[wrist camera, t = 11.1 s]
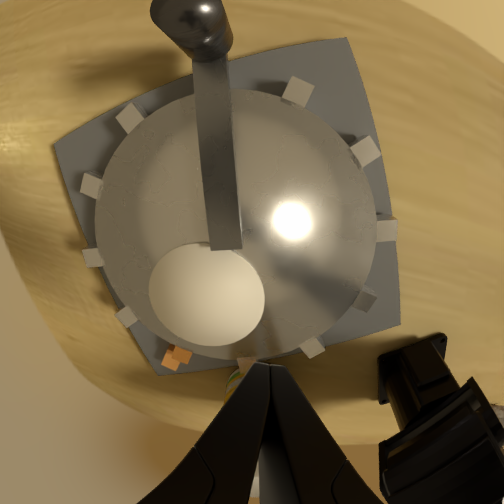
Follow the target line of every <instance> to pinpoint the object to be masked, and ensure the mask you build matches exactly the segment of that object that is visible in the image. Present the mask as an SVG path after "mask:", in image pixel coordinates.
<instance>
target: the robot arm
mask: <svg viewBox="0 0 504 504" xmlns="http://www.w3.org/2000/svg"><path fill="white" fill-rule="evenodd" d="M441 339H442V340H441ZM446 345H447V336H446V335H445V334H444V333H441V334H439V335H436V336H434V337H431V338H429V339H426V340H423V341H421V342H418V343H415V344H412V345H410V346H407V347H404V348H401V349H398V350H395V351H392V352H389V353H386V354H383V355H381V356H379V358H378V360H377V366H378V401H379V404H380V405H383V404H386V403H390V404H391V407H392V410H393V412H394V415H395V418H396V421H397V424H398V426H399V429H400V432H399V433H397V434H395V435H394V436H392V437H391V438H389V439H387V440H384V441H382V442H380V443H379V480H380V491H381V492H382V495H383V497H384V498H385V500H386V501H387V503H388V504H504V449H503V447H502V446H504V427H503V425H502V424H501V422H500V420H499V418H498V417H497V415H496V413H495V411H494V410H493V408H492V406H491V405H490V403H489V401H488V400H487V398H486V397H485V395H484V393H483V392H482V390H481V389H480V387H479V386H478V384H477V383H476V381H475V380H474V378H473V377H471V378H470V379H468V380H467V383H465V384H464V385H463V386H462V387H461V388H460V386H459V385H458V383H457V381H456V380H455V378H454V376H453V375H452V373H451V372H450V369H449V368H448V366H447V365H446V363H445V361H444V358H445V352H446ZM383 360H384V361H383ZM346 459H347V458H346V456H345V455H344V453H343V452H342V450H341V449H340V447H339V446H338V444H337V443H336V441H335V440H334V439H333V437H332V436H331V434H330V433H329V431H328V430H327V428H326V427H325V425H324V424H323V422H322V421H321V419H320V418H319V416H318V415H317V413H316V412H315V410H314V409H313V407H312V406H311V404H310V403H309V401H308V400H307V398H306V397H305V395H304V394H303V392H302V391H301V389H300V388H299V386H298V385H297V383H296V382H295V380H294V378H293V377H292V375H291V374H290V372H289V371H288V369H287V368H286V367H285V366H283V365H276V364H271V365H270V366H269V364H267V363H261V362H254V363H253V364H252V365H251V367H250V368H249V370H248V371H247V373H246V374H245V376H244V377H243V379H242V380H241V381H240V383H239V384H238V386H237V387H236V389H235V390H234V391H233V393H232V394H231V396H230V397H229V399H228V400H227V401H226V403H225V404H224V406H223V407H222V408H221V410H220V411H219V412H218V414H217V415H216V417H215V418H214V419H213V421H212V422H211V423H210V425H209V426H208V427H207V429H206V430H205V431H204V433H203V434H202V436H201V437H200V438H199V440H198V441H197V442H196V444H195V445H194V447H192V448H191V450H190V451H189V452H188V454H187V455H186V456H185V457H184V459H183V460H182V461H181V462H180V463H179V464H178V466H177V467H176V468H175V469H174V470H173V471H172V472H171V473H170V474H169V475H168V476H167V477H166V478H165V479H164V480H163V481H162V482H161V483H160V484H159V485H158V486H157V487H156V488H155V489H153V490H152V491H151V492H150V493H149V494H148V495H146V496H145V497H144V498H143V499H142V500H140V501H139V502H138V503H137V504H248V501H249V497H250V493H251V489H252V484H253V480H254V476H255V471H256V467H257V462H258V465H259V498H260V504H384V503H383V502H382V501H381V500H380V499H379V498H378V497H377V496H376V495H375V494H374V493H373V491H372V490H371V489H370V488H369V487H368V486H367V485H366V483H365V482H364V481H363V479H362V478H361V477H360V475H359V474H358V473H357V471H356V470H355V469H354V467H353V466H352V465H351V463H350V461H349V460H346Z"/></svg>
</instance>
